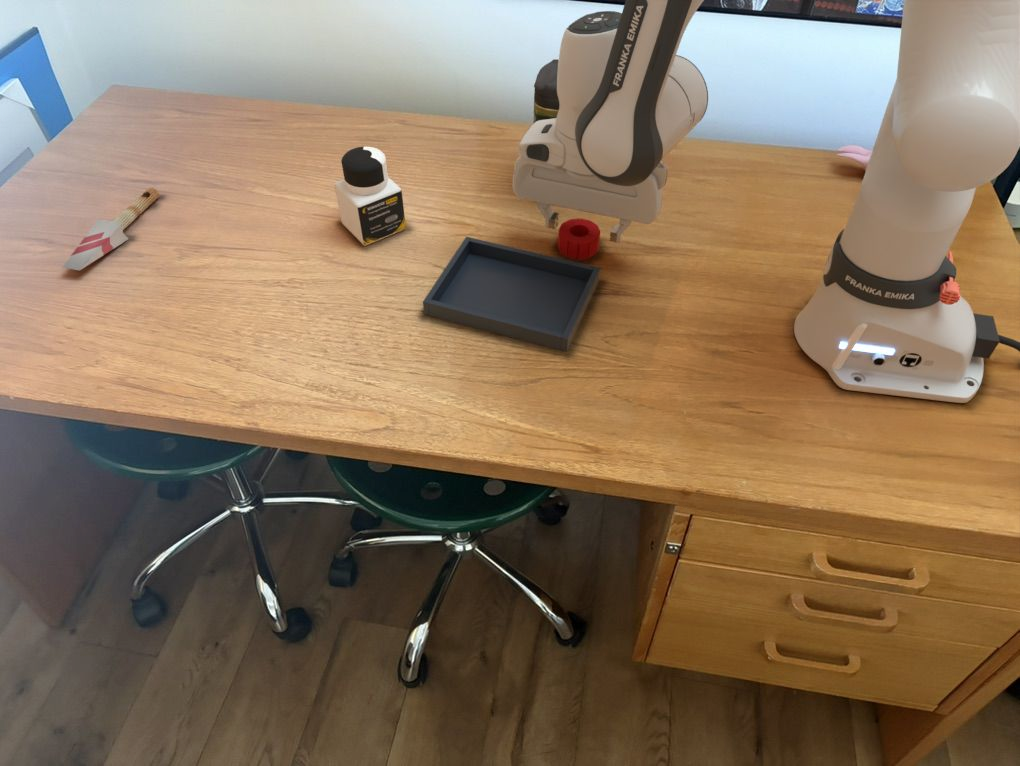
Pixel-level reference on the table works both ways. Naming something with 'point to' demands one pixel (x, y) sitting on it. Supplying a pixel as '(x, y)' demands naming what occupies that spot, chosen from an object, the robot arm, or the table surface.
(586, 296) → the tray
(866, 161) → the rabbit figure
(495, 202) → the table surface
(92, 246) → the garden trowel
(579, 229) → the ring
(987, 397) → the table surface
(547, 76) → the coffee jar
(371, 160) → the medicine bottle
